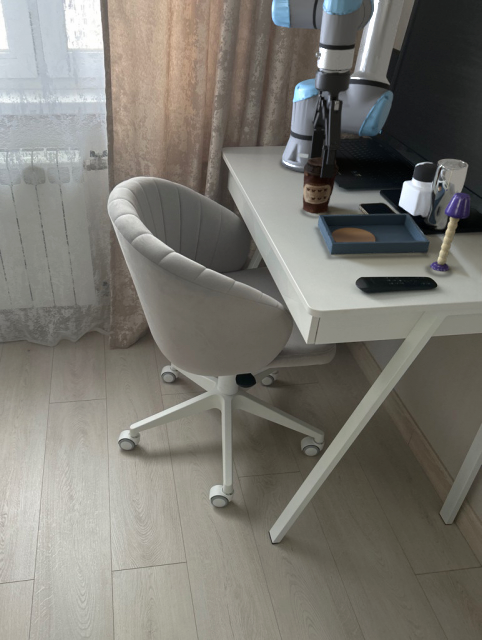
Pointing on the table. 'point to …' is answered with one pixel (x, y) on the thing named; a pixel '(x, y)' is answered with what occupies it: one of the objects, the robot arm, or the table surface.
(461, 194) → the toy lamp
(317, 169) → the coffee cup
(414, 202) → the medicine bottle
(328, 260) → the table surface
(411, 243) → the tray
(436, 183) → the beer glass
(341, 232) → the coaster
